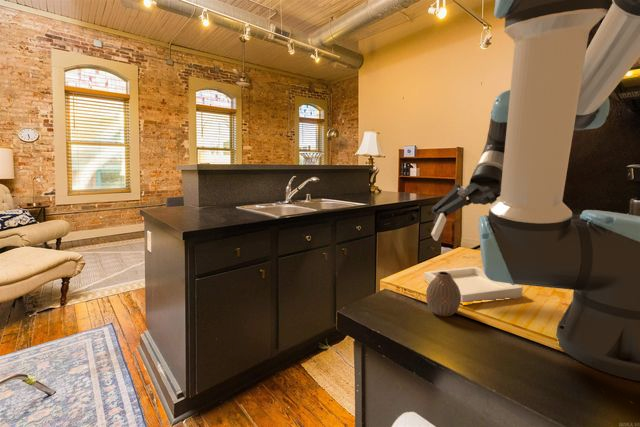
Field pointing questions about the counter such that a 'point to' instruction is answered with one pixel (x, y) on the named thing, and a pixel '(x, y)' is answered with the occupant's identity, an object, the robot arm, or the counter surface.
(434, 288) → the vase
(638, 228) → the robot arm
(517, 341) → the counter surface
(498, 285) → the tray
